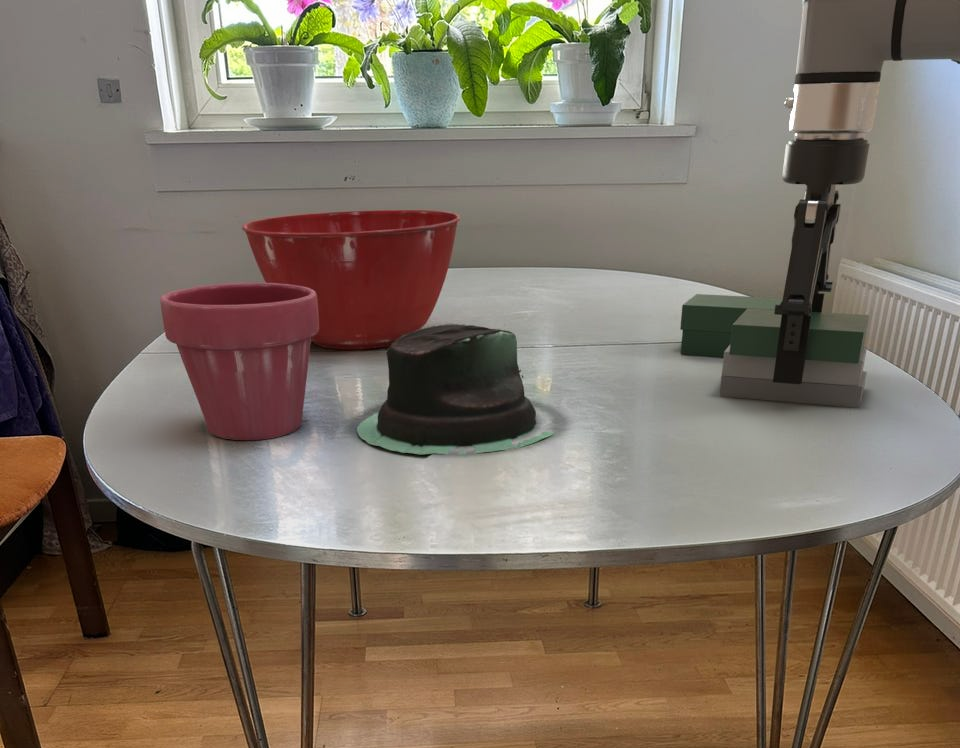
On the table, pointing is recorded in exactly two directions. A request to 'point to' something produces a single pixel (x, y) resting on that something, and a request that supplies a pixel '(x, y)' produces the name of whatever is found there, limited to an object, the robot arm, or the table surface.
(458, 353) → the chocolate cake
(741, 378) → the grey pile
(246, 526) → the table surface
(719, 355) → the green pile
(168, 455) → the table surface
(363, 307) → the mixing bowl
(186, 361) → the flower pot
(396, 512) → the table surface
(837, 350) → the green book
